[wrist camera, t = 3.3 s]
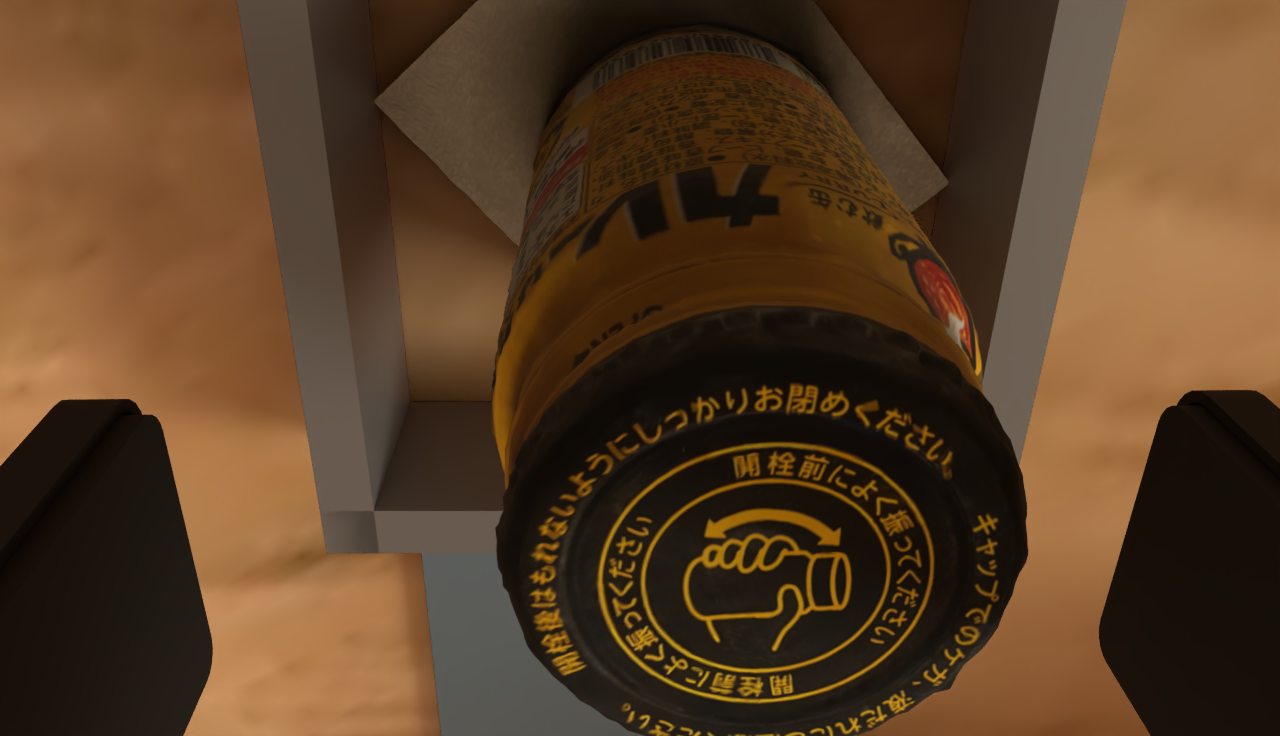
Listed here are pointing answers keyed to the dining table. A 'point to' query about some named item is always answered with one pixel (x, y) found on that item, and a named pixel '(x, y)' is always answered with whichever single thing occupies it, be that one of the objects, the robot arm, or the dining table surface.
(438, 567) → the slate mat
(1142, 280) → the dining table surface
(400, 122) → the condiment
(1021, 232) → the bin
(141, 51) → the dining table surface
